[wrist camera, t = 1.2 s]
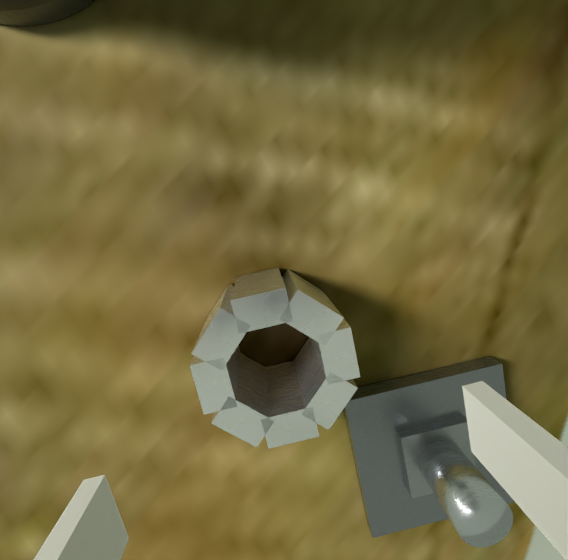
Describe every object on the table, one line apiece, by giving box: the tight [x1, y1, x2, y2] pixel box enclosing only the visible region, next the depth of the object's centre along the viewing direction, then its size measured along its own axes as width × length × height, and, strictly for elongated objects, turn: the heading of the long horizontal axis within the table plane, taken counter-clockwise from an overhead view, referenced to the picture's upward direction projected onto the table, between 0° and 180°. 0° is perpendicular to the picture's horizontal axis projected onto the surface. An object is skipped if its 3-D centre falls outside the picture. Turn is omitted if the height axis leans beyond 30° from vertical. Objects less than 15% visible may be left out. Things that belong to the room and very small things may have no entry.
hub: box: [190, 268, 360, 449], centre depth 24 cm, size 9×9×7 cm
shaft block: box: [344, 356, 515, 547], centre depth 27 cm, size 12×12×8 cm
